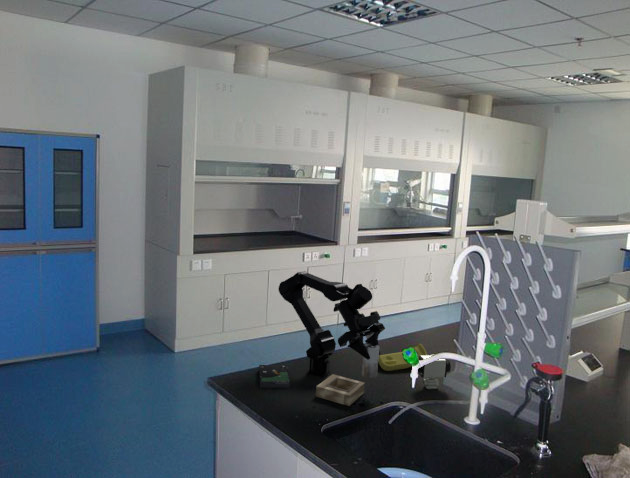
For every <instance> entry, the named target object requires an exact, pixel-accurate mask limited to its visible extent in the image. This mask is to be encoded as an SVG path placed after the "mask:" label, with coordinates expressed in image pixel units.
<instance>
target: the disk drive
mask: <svg viewBox="0 0 630 478" xmlns="http://www.w3.org/2000/svg"><path fill="white" fill-rule="evenodd" d="M258 374H259V388H264V389H265V388H270V389H274V388H279V389H281V388H291V377H290V373H289V368H288V364H270V365H269V366H268V365H266V364H259V365H258Z"/></svg>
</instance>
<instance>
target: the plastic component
mask: <svg viewBox="0 0 630 478" xmlns="http://www.w3.org/2000/svg"><path fill="white" fill-rule="evenodd" d="M411 348H414V349H415V351H416V352H417V354H418V357H419V355H428V352H427V350H426V348H425V347H424V345H423V344H422V343H418V344H416V345H415V346H413V347H411ZM403 352H404V351H399V352H393V353H387V354H386V353H385V354H380V355H379V359H378V365H379V366H380V368H381V369H382V370H383V371H387V372H391V371H398V370H403V369H409V367H410V368H412V366H411V365H410V364H408V363H407V362H406V361H405V360H404V359H403V355H402V353H403Z"/></svg>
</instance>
